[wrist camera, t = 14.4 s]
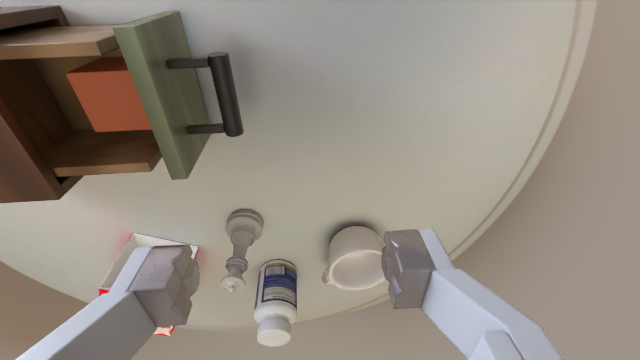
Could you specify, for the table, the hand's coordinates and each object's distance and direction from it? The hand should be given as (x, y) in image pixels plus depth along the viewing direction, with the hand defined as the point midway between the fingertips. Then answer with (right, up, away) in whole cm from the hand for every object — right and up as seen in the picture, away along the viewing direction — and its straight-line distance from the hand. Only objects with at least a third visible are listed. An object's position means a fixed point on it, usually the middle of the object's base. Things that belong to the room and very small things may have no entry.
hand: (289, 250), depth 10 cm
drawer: (-14, +11, +16) cm, 24 cm away
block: (-14, +10, +15) cm, 23 cm away
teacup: (+5, -6, +31) cm, 32 cm away
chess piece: (-8, -3, +27) cm, 29 cm away
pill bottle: (-5, -11, +33) cm, 35 cm away
